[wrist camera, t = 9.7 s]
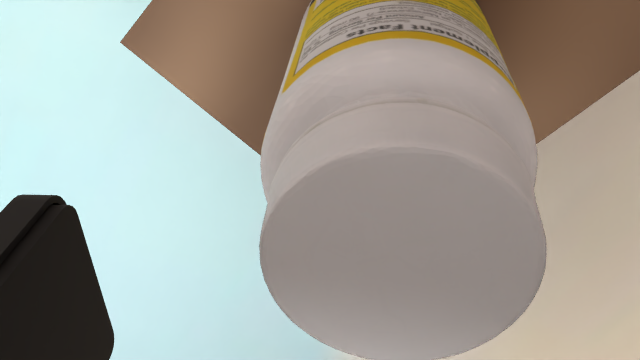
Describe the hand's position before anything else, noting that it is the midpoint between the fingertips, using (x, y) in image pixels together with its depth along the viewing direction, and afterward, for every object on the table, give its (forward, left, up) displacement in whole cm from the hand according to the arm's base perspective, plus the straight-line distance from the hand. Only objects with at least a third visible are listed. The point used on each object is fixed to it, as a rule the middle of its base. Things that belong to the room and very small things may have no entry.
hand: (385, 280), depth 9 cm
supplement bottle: (0, 0, -8) cm, 8 cm away
